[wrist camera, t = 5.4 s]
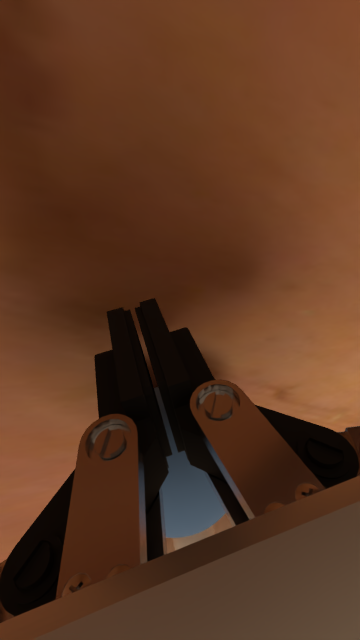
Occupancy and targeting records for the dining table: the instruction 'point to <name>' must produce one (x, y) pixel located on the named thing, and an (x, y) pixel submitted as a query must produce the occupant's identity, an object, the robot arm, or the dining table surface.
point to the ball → (186, 492)
